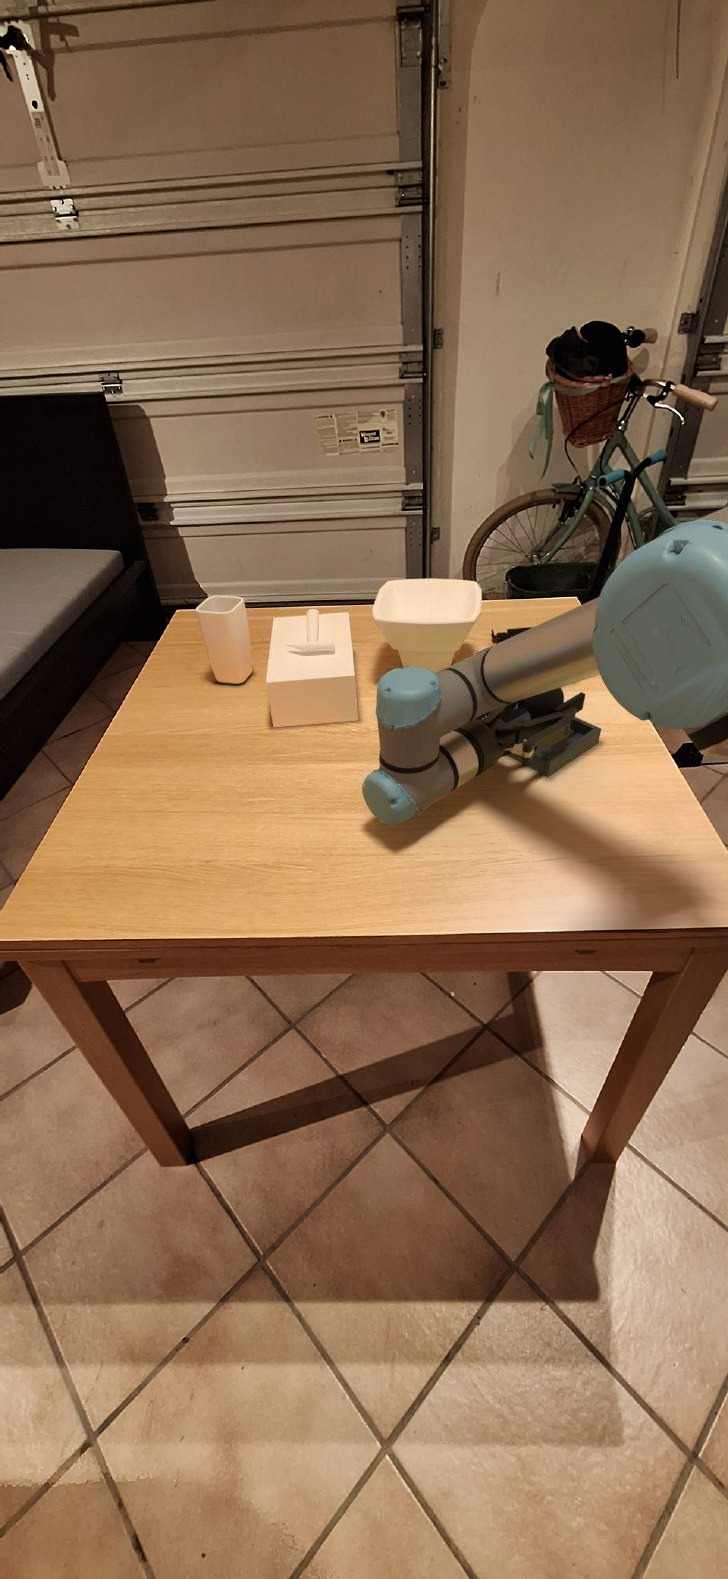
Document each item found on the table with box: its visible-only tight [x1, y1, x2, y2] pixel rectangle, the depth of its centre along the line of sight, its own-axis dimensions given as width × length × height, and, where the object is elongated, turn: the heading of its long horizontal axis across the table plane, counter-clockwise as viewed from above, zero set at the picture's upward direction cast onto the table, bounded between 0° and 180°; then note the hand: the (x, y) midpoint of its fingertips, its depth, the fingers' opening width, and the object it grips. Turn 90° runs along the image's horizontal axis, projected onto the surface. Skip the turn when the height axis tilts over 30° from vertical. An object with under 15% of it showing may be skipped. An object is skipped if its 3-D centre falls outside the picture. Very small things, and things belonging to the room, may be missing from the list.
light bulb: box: [524, 687, 565, 720], centre depth 96 cm, size 6×6×10 cm
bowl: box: [371, 578, 483, 673], centre depth 115 cm, size 19×19×14 cm
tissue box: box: [265, 608, 359, 728], centre depth 114 cm, size 14×25×11 cm, turn 4°
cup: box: [195, 595, 253, 685], centre depth 117 cm, size 7×7×15 cm
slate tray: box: [504, 704, 602, 778], centre depth 99 cm, size 14×13×3 cm
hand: (563, 692), depth 98 cm, fingers closed on light bulb, 6 cm apart
